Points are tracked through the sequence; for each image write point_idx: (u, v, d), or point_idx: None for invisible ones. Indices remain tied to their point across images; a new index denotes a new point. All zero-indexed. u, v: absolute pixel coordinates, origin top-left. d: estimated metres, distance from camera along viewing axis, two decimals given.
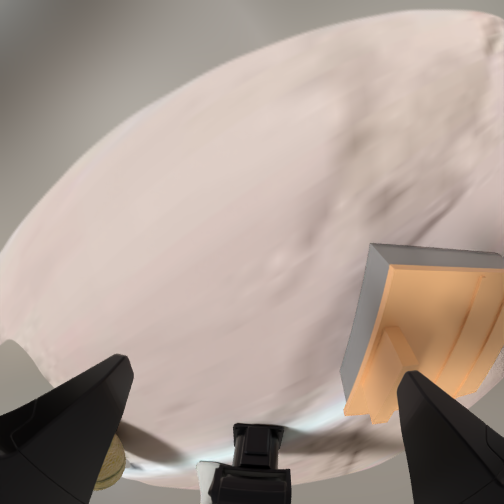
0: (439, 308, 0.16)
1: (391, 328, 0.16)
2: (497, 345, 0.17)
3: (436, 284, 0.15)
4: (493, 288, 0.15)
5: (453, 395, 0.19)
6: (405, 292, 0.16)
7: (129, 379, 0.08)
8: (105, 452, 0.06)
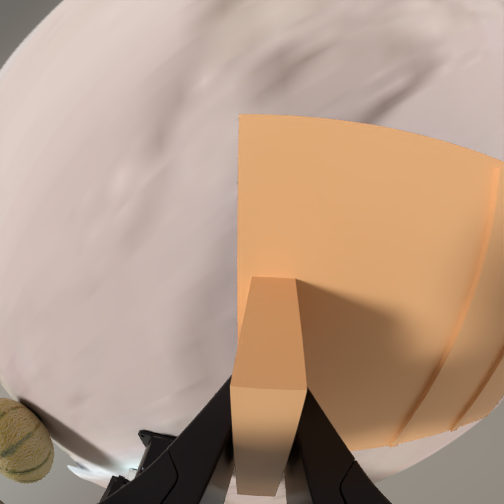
0: (407, 237, 0.07)
1: (269, 279, 0.07)
2: None
3: (383, 164, 0.06)
4: None
5: (450, 426, 0.10)
6: (290, 179, 0.07)
7: None
8: (229, 483, 0.05)
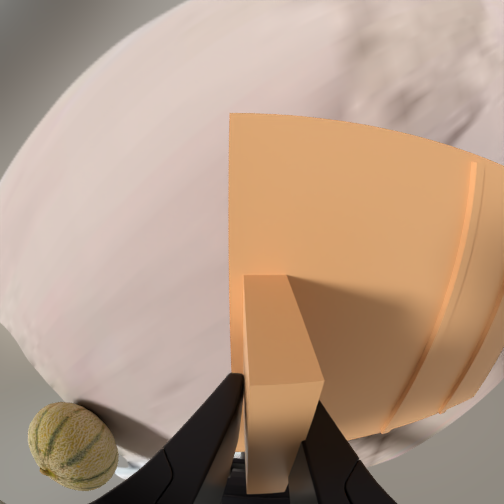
0: (392, 229, 0.07)
1: (262, 277, 0.07)
2: None
3: (368, 161, 0.07)
4: (500, 199, 0.07)
5: (438, 409, 0.12)
6: (281, 176, 0.07)
7: (242, 398, 0.07)
8: (225, 483, 0.05)
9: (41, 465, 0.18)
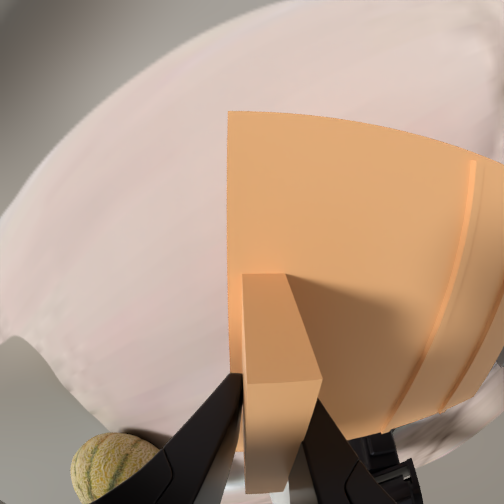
0: (391, 228, 0.07)
1: (260, 276, 0.07)
2: None
3: (367, 159, 0.07)
4: (500, 198, 0.07)
5: (438, 409, 0.12)
6: (279, 175, 0.07)
7: (242, 398, 0.07)
8: (225, 482, 0.05)
9: None
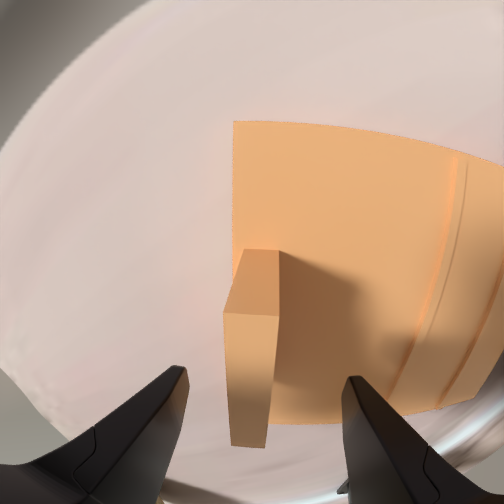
0: (371, 216, 0.09)
1: (258, 250, 0.09)
2: None
3: (348, 157, 0.08)
4: (489, 194, 0.08)
5: (435, 404, 0.12)
6: (273, 170, 0.08)
7: (186, 391, 0.07)
8: (165, 471, 0.05)
9: None
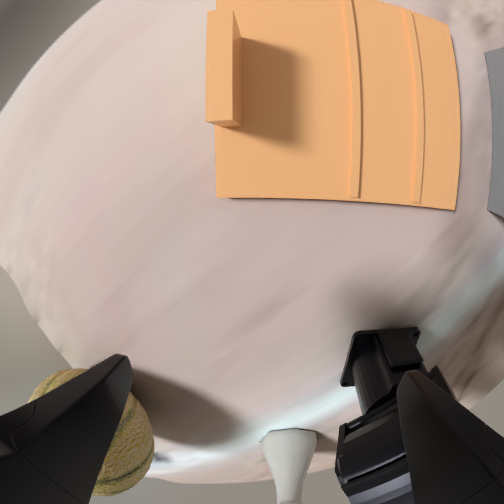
0: (293, 19, 0.12)
1: None
2: (447, 112, 0.13)
3: None
4: (377, 14, 0.11)
5: (411, 197, 0.15)
6: (237, 5, 0.12)
7: (129, 379, 0.08)
8: (105, 452, 0.06)
9: None
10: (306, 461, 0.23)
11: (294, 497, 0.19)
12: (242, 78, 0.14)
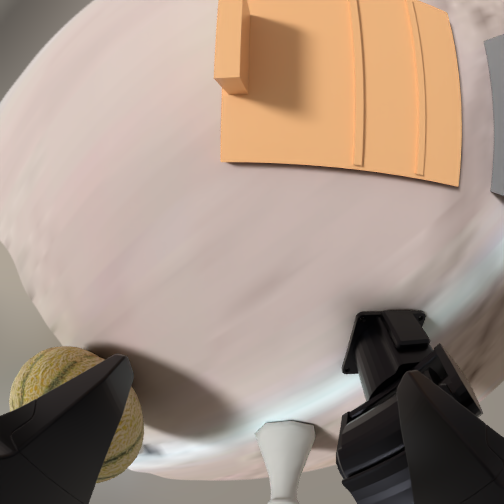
0: (299, 0, 0.12)
1: None
2: (447, 90, 0.12)
3: None
4: None
5: (414, 170, 0.15)
6: None
7: (129, 379, 0.08)
8: (105, 452, 0.06)
9: None
10: (303, 456, 0.22)
11: (289, 493, 0.18)
12: (249, 51, 0.13)
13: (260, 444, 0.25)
